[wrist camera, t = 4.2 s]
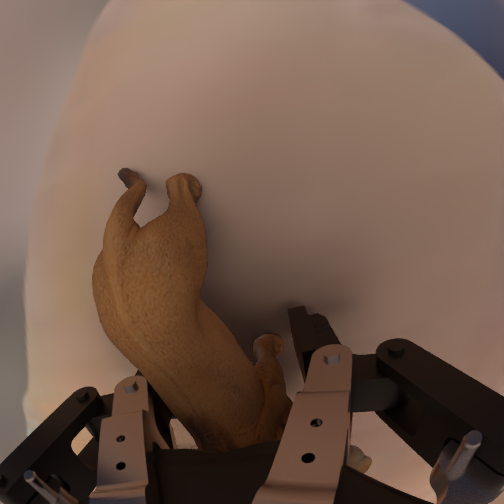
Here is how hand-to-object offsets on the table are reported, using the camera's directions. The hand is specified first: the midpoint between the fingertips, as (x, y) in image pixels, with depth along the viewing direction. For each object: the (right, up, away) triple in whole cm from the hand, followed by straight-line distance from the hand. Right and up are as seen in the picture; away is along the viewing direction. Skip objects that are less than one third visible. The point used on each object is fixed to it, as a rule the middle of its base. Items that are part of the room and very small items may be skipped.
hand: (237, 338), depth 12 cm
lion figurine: (0, +1, +1) cm, 2 cm away
